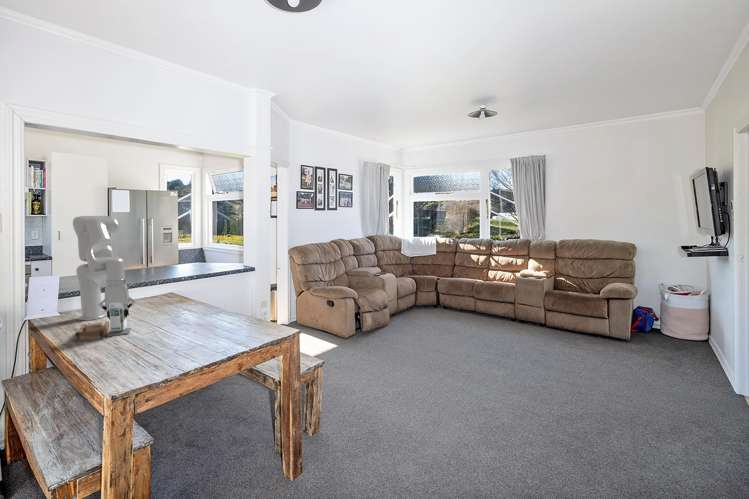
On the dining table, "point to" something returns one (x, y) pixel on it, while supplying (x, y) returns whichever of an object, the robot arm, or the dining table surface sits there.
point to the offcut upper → (93, 325)
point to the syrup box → (117, 316)
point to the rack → (91, 333)
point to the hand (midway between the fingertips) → (118, 317)
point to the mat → (119, 332)
